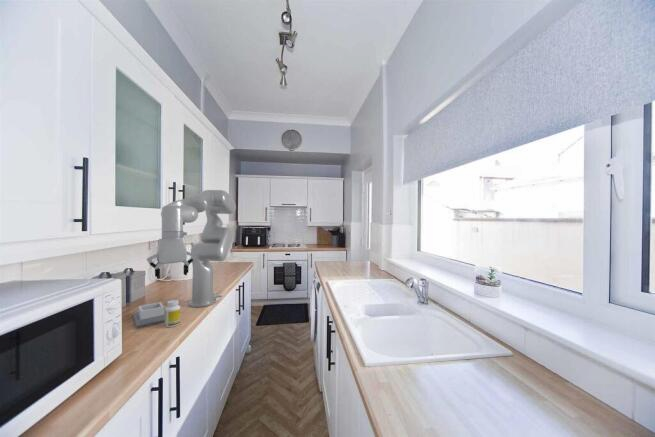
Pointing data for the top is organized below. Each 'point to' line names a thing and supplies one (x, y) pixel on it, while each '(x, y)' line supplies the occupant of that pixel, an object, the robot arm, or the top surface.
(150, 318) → the collar stand
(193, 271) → the robot arm
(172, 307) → the supplement bottle
